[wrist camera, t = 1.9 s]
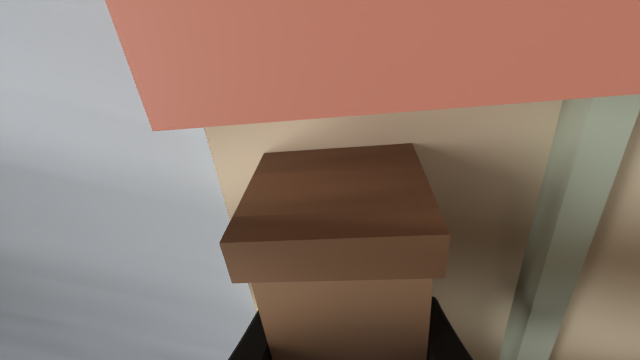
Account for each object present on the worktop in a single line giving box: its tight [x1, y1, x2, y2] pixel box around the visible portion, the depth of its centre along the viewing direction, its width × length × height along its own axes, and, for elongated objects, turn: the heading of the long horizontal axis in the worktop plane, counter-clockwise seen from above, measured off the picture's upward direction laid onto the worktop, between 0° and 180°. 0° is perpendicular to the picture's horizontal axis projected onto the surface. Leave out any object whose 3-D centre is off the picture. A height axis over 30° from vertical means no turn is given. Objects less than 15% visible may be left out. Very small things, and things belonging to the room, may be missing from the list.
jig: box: [204, 94, 640, 360], centre depth 11 cm, size 20×16×2 cm
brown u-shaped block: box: [220, 143, 450, 360], centre depth 10 cm, size 11×4×4 cm, turn 6°
